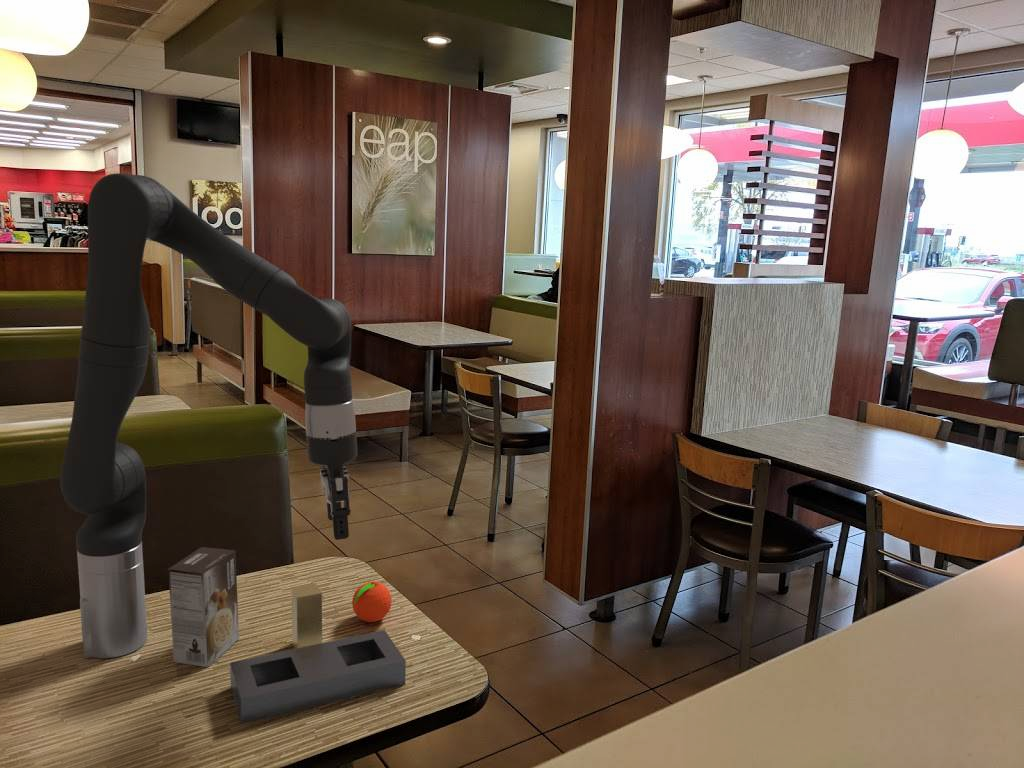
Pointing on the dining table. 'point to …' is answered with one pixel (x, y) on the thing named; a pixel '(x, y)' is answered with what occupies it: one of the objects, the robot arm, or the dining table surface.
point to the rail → (315, 675)
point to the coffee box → (203, 606)
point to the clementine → (371, 601)
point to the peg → (306, 615)
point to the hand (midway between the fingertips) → (338, 528)
